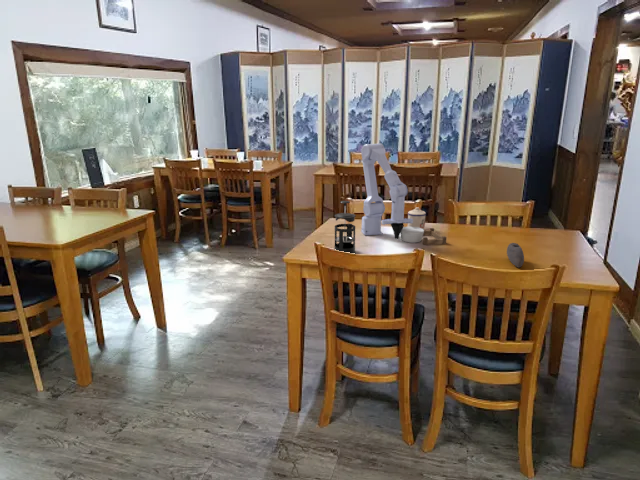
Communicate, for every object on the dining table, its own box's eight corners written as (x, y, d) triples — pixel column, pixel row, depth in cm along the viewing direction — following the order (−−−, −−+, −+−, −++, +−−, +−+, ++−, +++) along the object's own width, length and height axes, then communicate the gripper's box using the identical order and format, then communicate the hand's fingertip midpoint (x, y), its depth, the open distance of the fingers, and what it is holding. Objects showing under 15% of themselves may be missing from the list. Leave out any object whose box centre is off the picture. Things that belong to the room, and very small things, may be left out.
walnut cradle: (424, 245, 203) (424, 238, 202) (411, 235, 218) (412, 228, 217) (446, 243, 204) (446, 237, 203) (432, 234, 220) (432, 227, 219)
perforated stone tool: (526, 270, 170) (528, 253, 168) (511, 269, 171) (513, 252, 169) (518, 258, 184) (520, 242, 182) (505, 257, 185) (507, 241, 183)
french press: (350, 257, 186) (350, 204, 179) (329, 255, 190) (329, 202, 183) (359, 250, 196) (360, 199, 190) (340, 247, 200) (340, 197, 194)
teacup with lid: (423, 232, 222) (424, 210, 219) (405, 230, 226) (406, 208, 222) (427, 226, 233) (428, 205, 229) (410, 225, 236) (411, 203, 233)
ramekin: (428, 239, 210) (428, 229, 209) (415, 245, 202) (415, 234, 201) (407, 235, 218) (408, 225, 216) (394, 240, 210) (395, 229, 208)
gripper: (384, 213, 200) (383, 241, 204) (415, 211, 202) (414, 240, 206) (380, 209, 207) (379, 237, 211) (410, 208, 209) (409, 235, 212)
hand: (396, 238), depth 209 cm, fingers closed
